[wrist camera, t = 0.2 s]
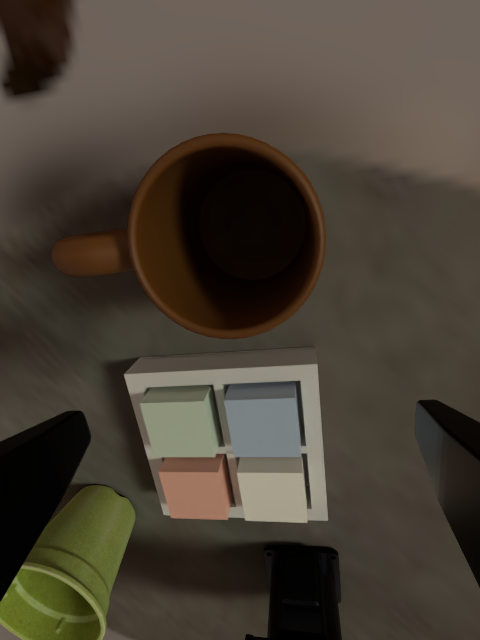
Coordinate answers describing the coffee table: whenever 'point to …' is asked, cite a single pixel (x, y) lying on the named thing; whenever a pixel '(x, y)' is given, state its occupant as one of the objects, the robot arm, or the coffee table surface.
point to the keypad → (219, 375)
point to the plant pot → (71, 570)
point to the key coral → (196, 487)
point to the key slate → (263, 419)
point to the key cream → (273, 489)
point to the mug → (214, 237)
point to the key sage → (181, 421)
